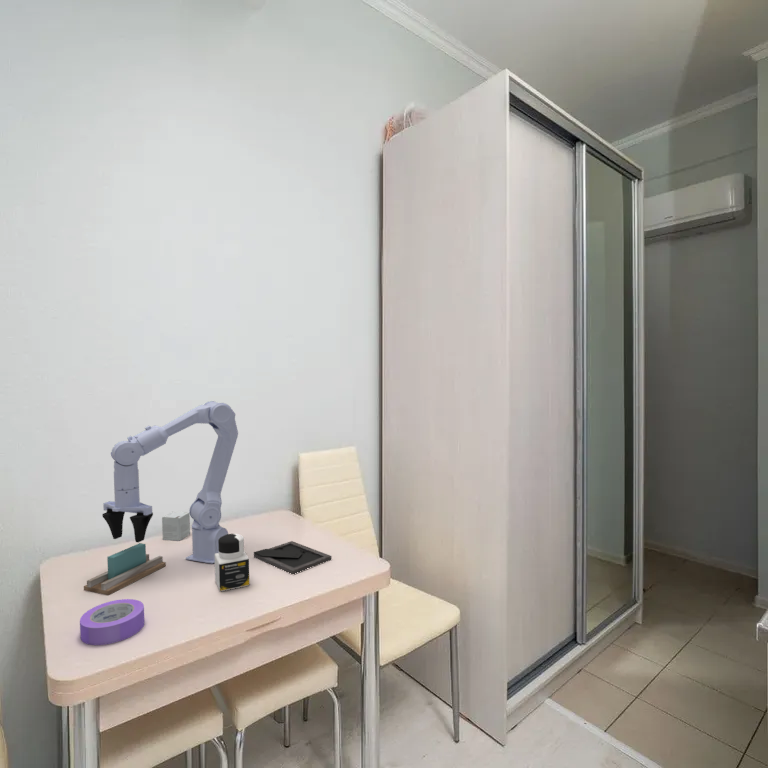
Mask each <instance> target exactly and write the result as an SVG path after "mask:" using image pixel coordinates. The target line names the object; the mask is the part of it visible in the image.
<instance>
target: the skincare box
mask: <svg viewBox="0 0 768 768" xmlns="http://www.w3.org/2000/svg"><path fill="white" fill-rule="evenodd" d="M190 518H191V516H190V513H189V511H188V512H185V511H171V512H169V513H168V514H166V515H164V516H162V518H161V526H162V528H161V529H162V530H161V531H162V540H163V541H177V542H179V541H182V540H183V539H185V538H186V537H188V536H189V535H191V525H190V524H191V521H190Z"/></svg>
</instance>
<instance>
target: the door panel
mask: <svg viewBox="0 0 768 768" xmlns="http://www.w3.org/2000/svg"><path fill="white" fill-rule="evenodd" d="M146 545H147V544H146V543H141V542H138V543H137V544H134V545H132V546H130V547H128V548H126V549H125V548H124V549H123V550H120V551H118V552H115V553H113V554H111V555H109V556H107V557H106V560H107V571H108V580H109V579H112V578H114V577H116V576H118V575H120V574H122V573H124V572H126V571H128V570H130V569H133V568H135V567H137V566H139V565H141V564H143V563H145V562H146V554H147V552H146V551H147V548H146Z"/></svg>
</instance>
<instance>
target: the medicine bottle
mask: <svg viewBox="0 0 768 768" xmlns="http://www.w3.org/2000/svg"><path fill="white" fill-rule="evenodd" d="M218 547H219V553H216V554H215V563H214V580H215V584H216V585H217V589H218V590H219V592H220V591H222V592H226V591H230V589H231V590H235V588H236V589H240V587H241V588H244V587H249V586H250V558H249V556H248V554H247V553H246V552H245V537H244V536H243V535H242V534H239V533H228V534H227V535H224V536H222V537H220V539H219V540H218ZM225 590H226V591H225Z"/></svg>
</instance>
